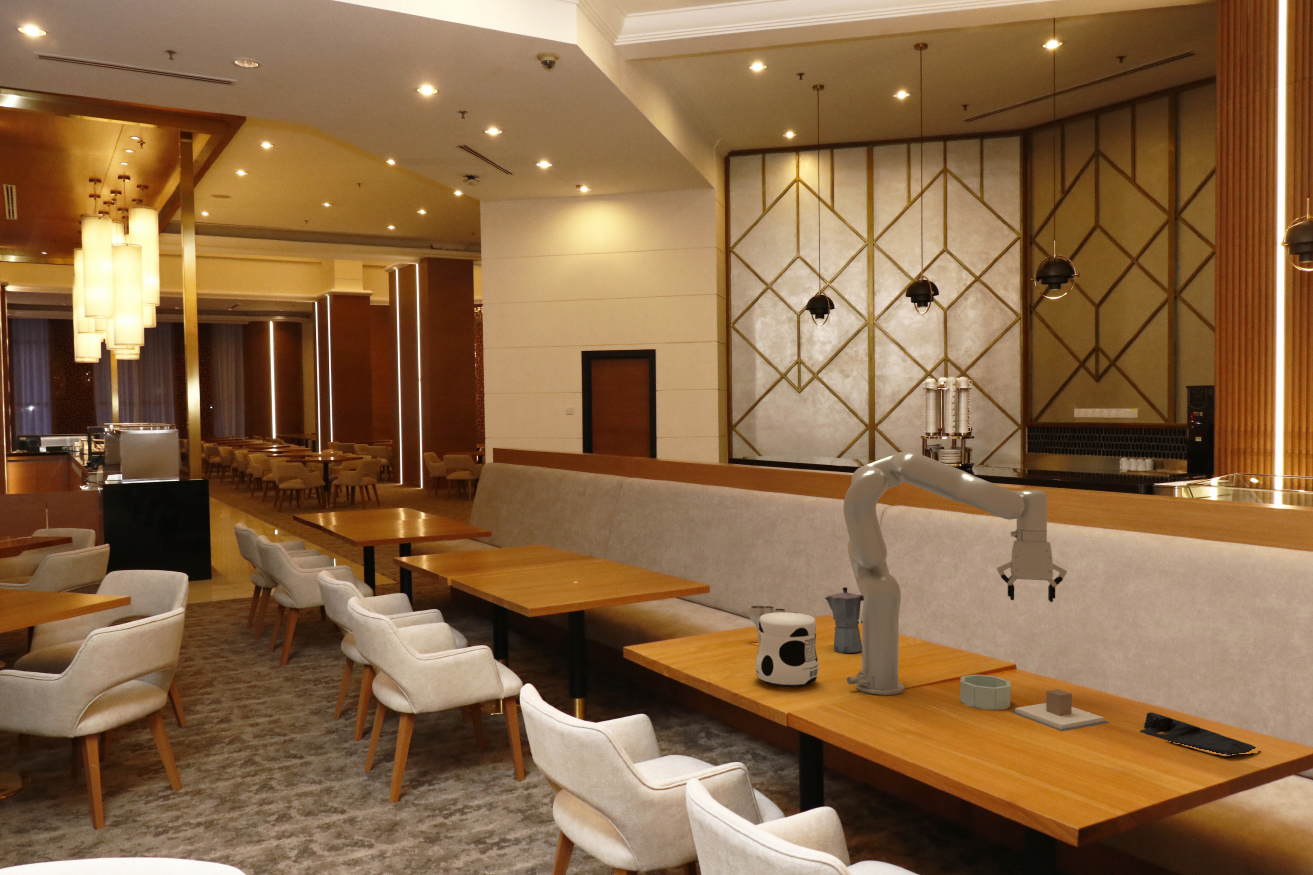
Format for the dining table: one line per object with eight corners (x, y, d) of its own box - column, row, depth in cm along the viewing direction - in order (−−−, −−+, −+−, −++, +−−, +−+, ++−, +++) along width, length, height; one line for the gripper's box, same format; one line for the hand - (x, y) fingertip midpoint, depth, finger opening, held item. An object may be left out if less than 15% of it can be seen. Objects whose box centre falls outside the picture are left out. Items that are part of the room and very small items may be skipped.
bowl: (984, 714, 227) (985, 690, 227) (950, 700, 238) (950, 677, 238) (1020, 708, 232) (1021, 684, 232) (985, 695, 243) (985, 672, 243)
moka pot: (823, 645, 296) (824, 583, 296) (872, 647, 294) (873, 585, 294) (824, 653, 287) (825, 589, 287) (875, 655, 285) (876, 590, 284)
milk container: (752, 673, 263) (753, 610, 262) (813, 674, 262) (814, 611, 262) (757, 691, 245) (758, 624, 245) (822, 692, 245) (823, 625, 245)
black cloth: (1223, 765, 196) (1224, 743, 196) (1130, 733, 215) (1131, 713, 215) (1267, 754, 202) (1268, 733, 202) (1173, 724, 222) (1173, 705, 222)
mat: (1061, 733, 213) (1061, 731, 213) (1009, 713, 228) (1009, 711, 228) (1110, 724, 220) (1110, 722, 220) (1055, 705, 235) (1055, 703, 235)
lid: (1061, 729, 215) (1061, 703, 215) (1015, 711, 227) (1015, 687, 227) (1103, 721, 221) (1104, 696, 220) (1056, 705, 233) (1056, 681, 233)
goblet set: (815, 660, 278) (815, 616, 278) (800, 662, 275) (800, 618, 275) (759, 641, 302) (760, 600, 302) (745, 643, 300) (745, 602, 299)
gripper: (998, 537, 244) (998, 601, 244) (1069, 539, 240) (1068, 604, 240) (995, 533, 251) (995, 596, 251) (1064, 535, 247) (1063, 599, 247)
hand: (1031, 600), depth 246 cm, fingers open, 9 cm apart
